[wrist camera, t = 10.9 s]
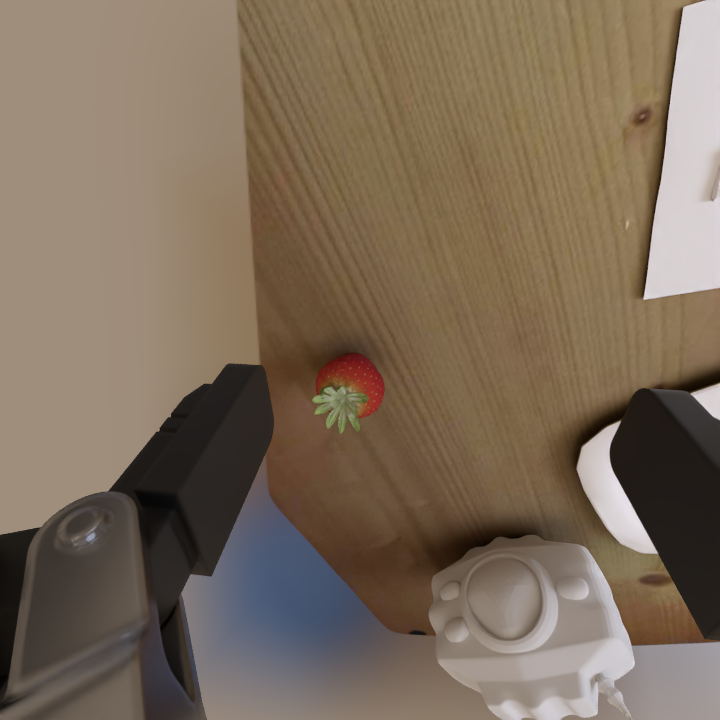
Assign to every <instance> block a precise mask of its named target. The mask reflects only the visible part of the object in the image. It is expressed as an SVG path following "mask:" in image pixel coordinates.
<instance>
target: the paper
mask: <svg viewBox="0 0 720 720" xmlns="http://www.w3.org/2000/svg"><path fill="white" fill-rule="evenodd" d="M715 288H720V0H705V1H701V2H698V3H695V4H692V5H688V6H685V7H683V14H682V21H681V27H680V34H679V41H678V47H677V55H676V62H675V69H674V76H673V84H672V92H671V100H670V107H669V115H668V125H667V135H666V146H665V154H664V162H663V169H662V177H661V183H660V188H659V193H658V198H657V204H656V210H655V216H654V223H653V230H652V238H651V247H650V256H649V264H648V272H647V280H646V287H645V293H644V300H646V299H652V298H658V297H665V296H671V295H677V294H683V293H690V292H696V291H702V290H709V289H715Z"/></svg>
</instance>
